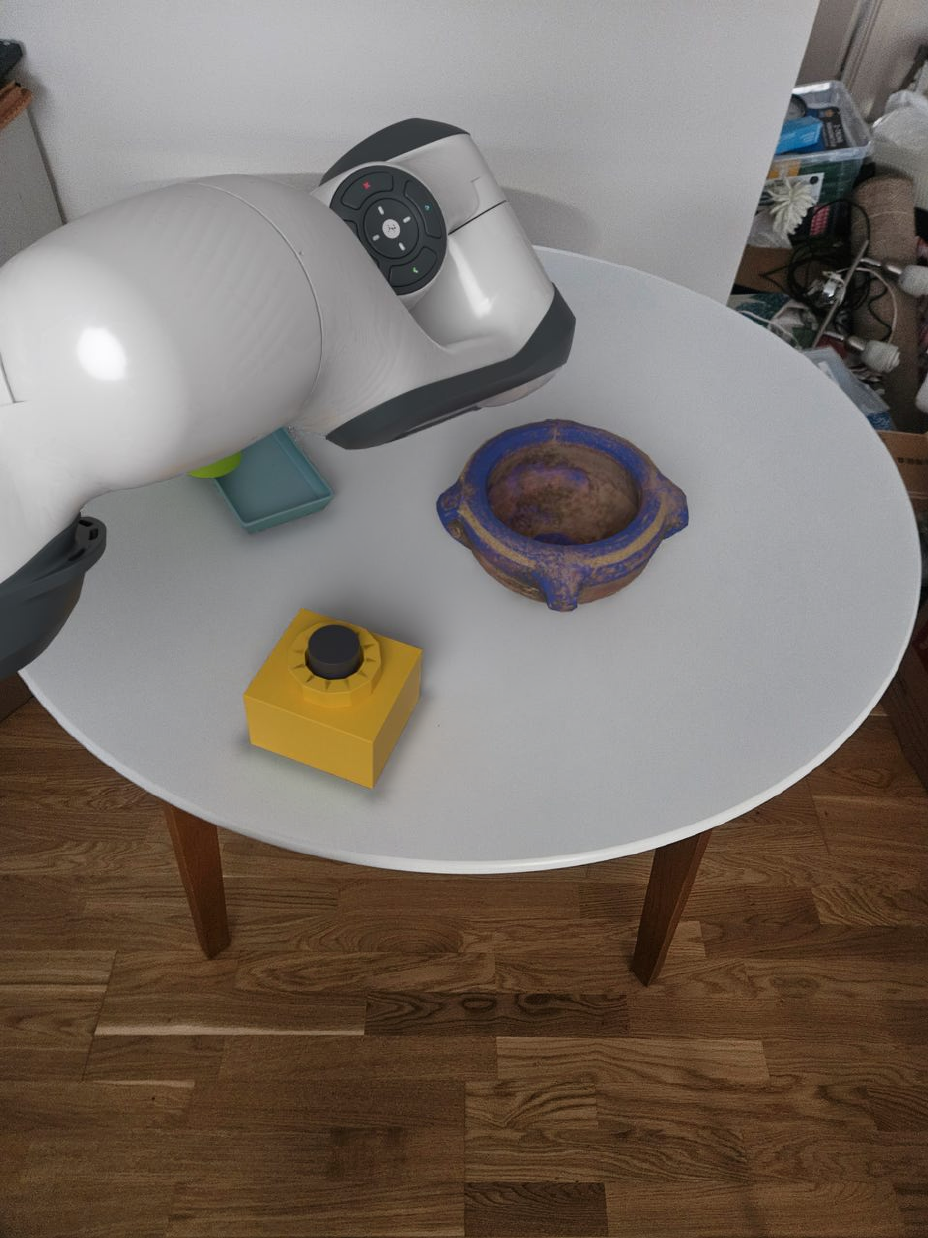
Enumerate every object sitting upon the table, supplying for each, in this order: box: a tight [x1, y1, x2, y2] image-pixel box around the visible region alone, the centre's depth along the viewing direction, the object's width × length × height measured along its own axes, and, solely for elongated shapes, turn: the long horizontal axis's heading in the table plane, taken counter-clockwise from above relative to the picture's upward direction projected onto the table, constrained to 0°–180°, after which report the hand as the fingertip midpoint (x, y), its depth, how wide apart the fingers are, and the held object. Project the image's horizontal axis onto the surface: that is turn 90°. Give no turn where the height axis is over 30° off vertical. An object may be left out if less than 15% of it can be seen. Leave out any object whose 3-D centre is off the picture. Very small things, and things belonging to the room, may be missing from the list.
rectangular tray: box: [210, 427, 336, 534], centre depth 94 cm, size 26×9×2 cm, turn 31°
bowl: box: [435, 418, 690, 613], centre depth 84 cm, size 18×18×10 cm
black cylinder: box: [308, 625, 360, 679], centre depth 68 cm, size 4×4×2 cm
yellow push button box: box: [242, 607, 423, 790], centre depth 72 cm, size 10×9×8 cm
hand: (218, 369), depth 78 cm, fingers open, 8 cm apart
